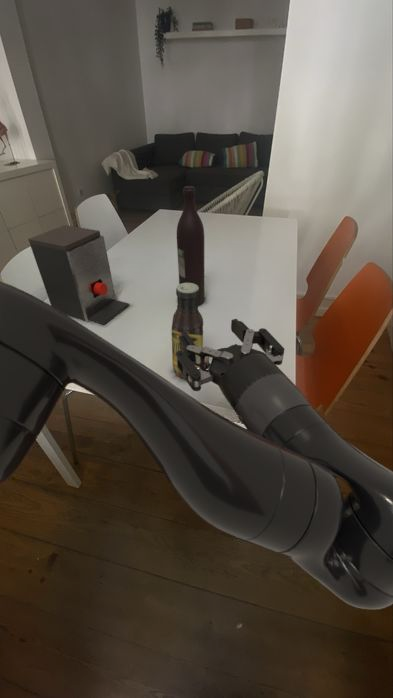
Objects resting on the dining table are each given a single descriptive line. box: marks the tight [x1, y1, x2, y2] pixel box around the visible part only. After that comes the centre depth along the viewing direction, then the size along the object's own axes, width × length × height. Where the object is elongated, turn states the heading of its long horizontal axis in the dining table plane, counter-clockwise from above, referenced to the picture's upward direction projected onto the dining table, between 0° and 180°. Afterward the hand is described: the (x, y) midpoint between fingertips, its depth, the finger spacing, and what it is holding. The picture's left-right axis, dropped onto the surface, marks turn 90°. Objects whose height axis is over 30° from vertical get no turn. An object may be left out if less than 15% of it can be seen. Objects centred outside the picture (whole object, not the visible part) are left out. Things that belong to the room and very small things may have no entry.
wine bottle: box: [176, 185, 205, 306], centre depth 83 cm, size 7×7×30 cm
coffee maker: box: [27, 224, 130, 326], centre depth 84 cm, size 18×12×20 cm, turn 63°
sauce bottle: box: [171, 283, 204, 379], centre depth 62 cm, size 6×6×20 cm
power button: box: [93, 282, 107, 296], centre depth 84 cm, size 2×3×3 cm, turn 153°
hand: (208, 330), depth 50 cm, fingers open, 8 cm apart
